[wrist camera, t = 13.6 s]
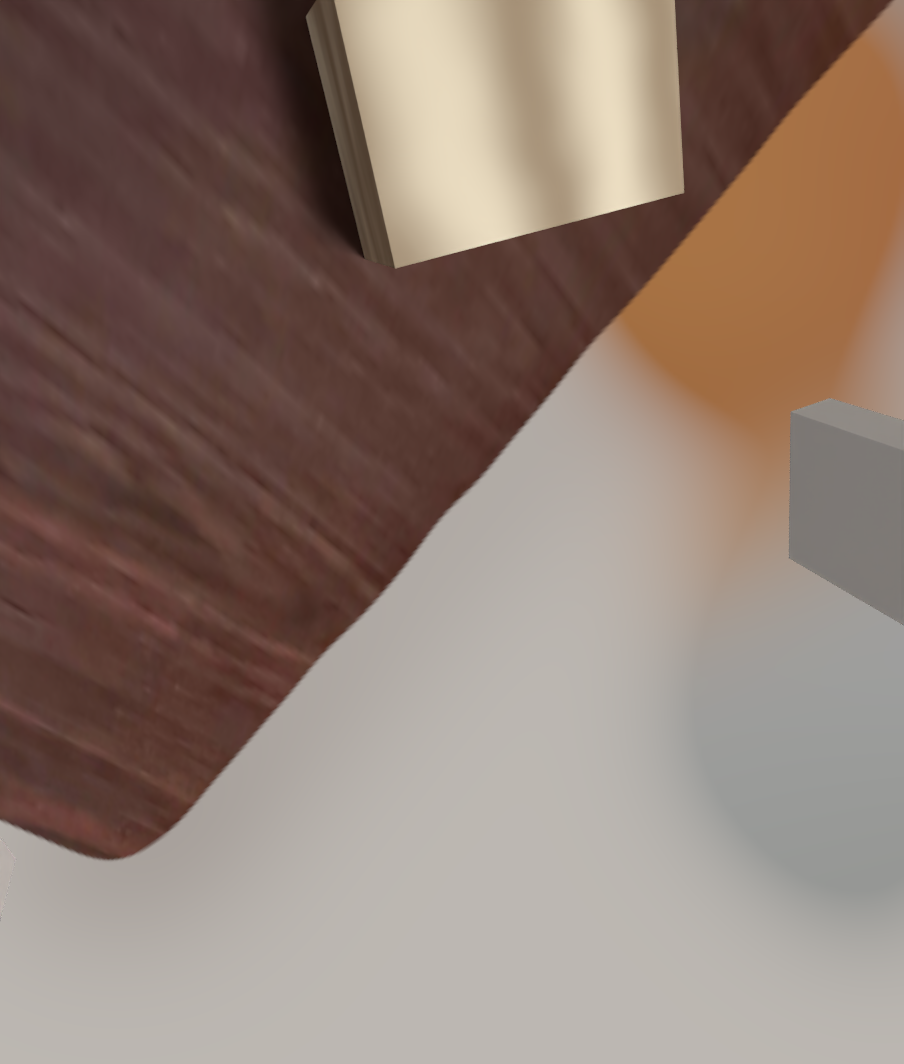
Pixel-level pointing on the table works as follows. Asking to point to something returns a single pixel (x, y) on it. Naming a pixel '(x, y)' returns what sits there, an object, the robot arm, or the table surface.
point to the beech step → (496, 115)
